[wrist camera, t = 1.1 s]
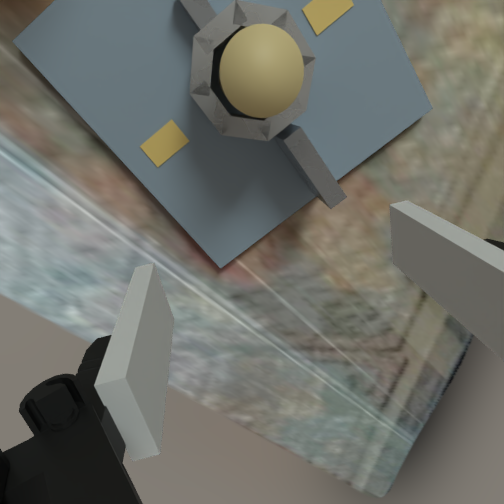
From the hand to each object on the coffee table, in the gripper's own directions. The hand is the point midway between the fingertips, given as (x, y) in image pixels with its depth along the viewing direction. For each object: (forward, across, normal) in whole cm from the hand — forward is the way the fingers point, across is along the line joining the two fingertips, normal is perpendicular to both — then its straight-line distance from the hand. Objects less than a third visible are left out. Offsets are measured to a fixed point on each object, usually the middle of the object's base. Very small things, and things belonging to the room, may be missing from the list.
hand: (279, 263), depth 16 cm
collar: (+16, +3, +6) cm, 17 cm away
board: (+18, +2, +7) cm, 19 cm away
